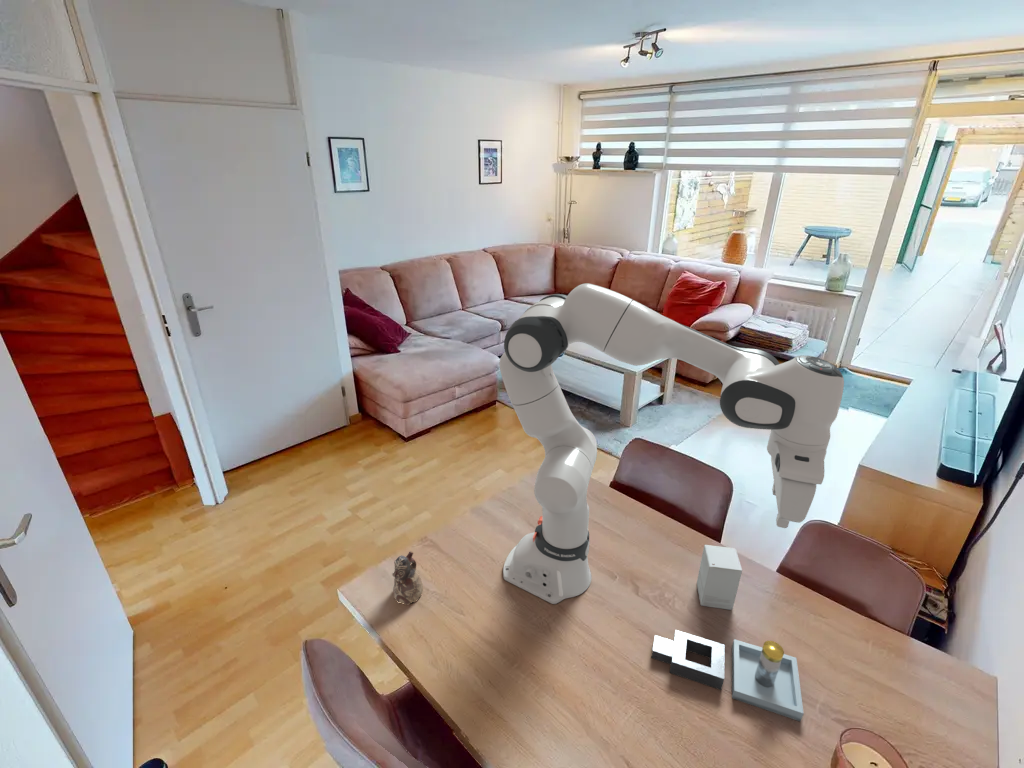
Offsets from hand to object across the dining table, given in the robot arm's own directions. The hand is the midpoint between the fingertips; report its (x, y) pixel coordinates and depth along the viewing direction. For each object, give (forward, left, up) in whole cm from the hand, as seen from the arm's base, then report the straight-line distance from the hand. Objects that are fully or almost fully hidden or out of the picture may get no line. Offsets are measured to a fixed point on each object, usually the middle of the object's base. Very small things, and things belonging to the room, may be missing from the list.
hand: (779, 508), depth 93 cm
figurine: (-76, -15, -37) cm, 86 cm away
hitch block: (-11, -9, -37) cm, 40 cm away
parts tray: (+4, -8, -37) cm, 38 cm away
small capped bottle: (+4, -8, -36) cm, 37 cm away
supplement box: (-6, +11, -37) cm, 39 cm away
